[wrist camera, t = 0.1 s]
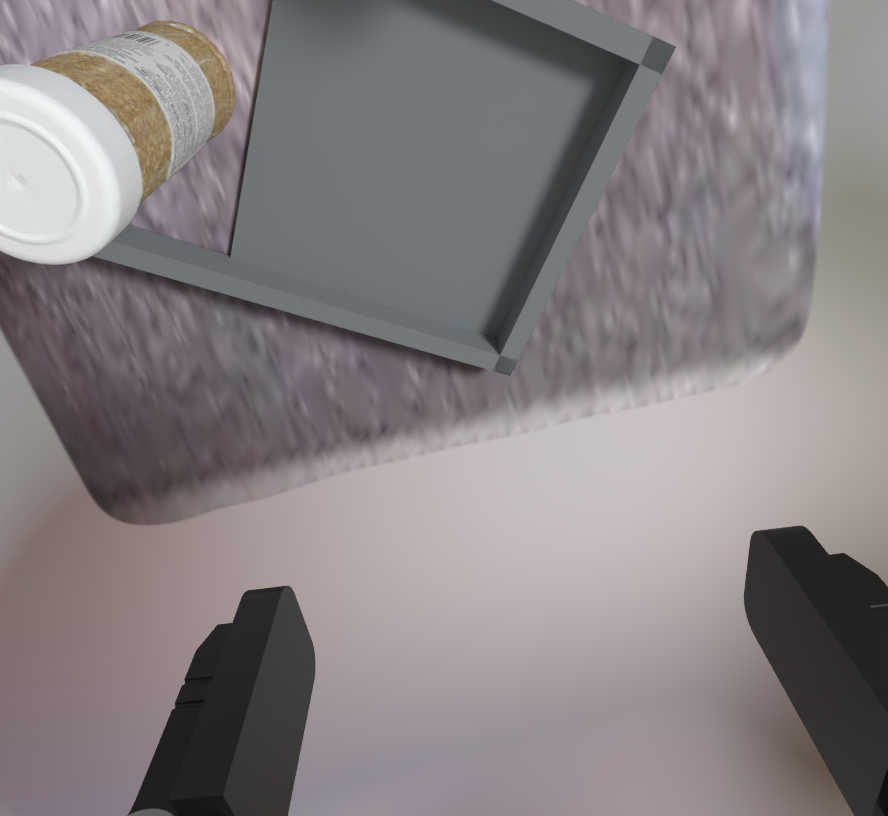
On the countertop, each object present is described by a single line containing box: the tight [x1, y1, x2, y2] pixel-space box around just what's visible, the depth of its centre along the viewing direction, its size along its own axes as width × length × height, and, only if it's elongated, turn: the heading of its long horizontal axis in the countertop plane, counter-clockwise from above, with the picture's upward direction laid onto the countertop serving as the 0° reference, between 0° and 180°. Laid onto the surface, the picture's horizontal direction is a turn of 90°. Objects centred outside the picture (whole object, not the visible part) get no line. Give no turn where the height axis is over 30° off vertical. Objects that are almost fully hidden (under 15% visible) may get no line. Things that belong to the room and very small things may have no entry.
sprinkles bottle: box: [0, 21, 235, 265], centre depth 20 cm, size 5×5×14 cm
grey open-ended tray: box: [93, 0, 676, 376], centre depth 27 cm, size 16×21×2 cm
